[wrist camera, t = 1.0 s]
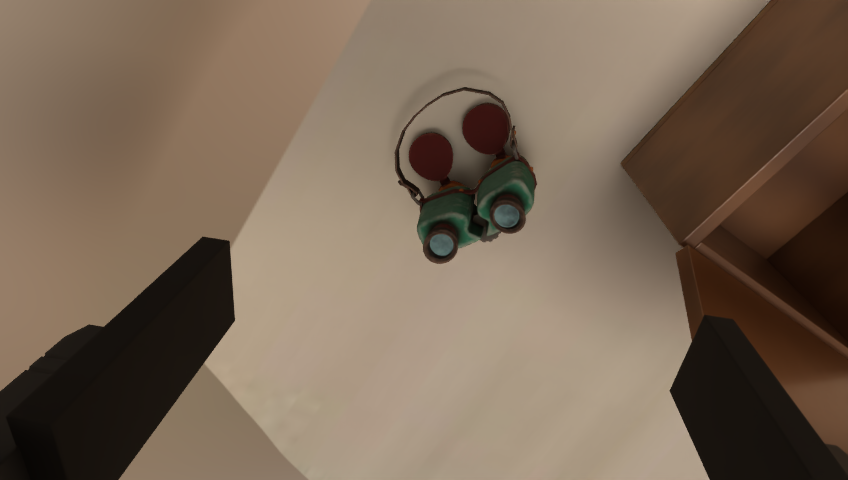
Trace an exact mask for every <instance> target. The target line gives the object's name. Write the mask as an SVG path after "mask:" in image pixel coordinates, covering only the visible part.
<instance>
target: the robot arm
mask: <svg viewBox="0 0 848 480" xmlns="http://www.w3.org/2000/svg"><path fill="white" fill-rule="evenodd" d="M234 321H235V315H234V300H233V286H232V271H231V256H230V242H229V241H227V240H220V239H214V238H208V237H202V238H201V239H200V240H199V241H198V242H196V244H194V245H193V246H192V247H191V248H190V249H189V250H188V251H187V252H186V253H184V254H183V255H182V256H181V257H180V258H179V259H178V260H177V261H176V262H175V263H174V264H172V265H171V266H170V267H169V268H168V269H167V270H166V271H165V272H164V273H162V274H161V275H160V276H159V277H158V278H157V279H156V280H155V281H154V282H153V283H152V284H150V285H149V286H148V287H147V288H146V289H145V290H144V291H143V292H142V293H141V294H140V295H138V296H137V297H136V298H135V299H134V300H133V301H132V302H131V303H130V304H129V305H127V306H126V307H125V308H124V309H123V310H122V311H121V312H120V313H119V314H118V315H116V317H114V318H113V319H112V320H111V321H110V322H109V323H108V324H107V325H105V326H104V327H101V326H95V325H87V326H86V327H84V328H81V329H80V330H77V331H75V332H74V333H72V334H69V335H67V336H65V337H64V338H63V339H61V341H59V342H58V343H57V344H56V345H54V346H53V347H52V348H51V349H50V350H49V351H47V352H46V353H45V356H44V357H40V358H39V359H38V360H37V361H35V362H34V363H33V364H32V365H31V366H30V368H29V370H25V371H24V372H23V373H21V374H20V375H19V376H18V377H17V378H15V379H14V380H13V381H12V382H11V383H10V384H9V385H7V386H6V387H5V388H4V389H3V390H1V391H0V480H118V479H119V478H120V477H121V475H122V474H123V473H124V471H125V470H126V469H127V467H128V466H129V464H130V463H131V462H132V460H133V459H134V458H135V456H136V455H137V454H138V452H139V451H140V450H141V448H142V447H143V445H144V444H145V443H146V441H147V440H148V439H149V437H150V436H151V434H152V433H153V432H154V430H155V429H156V428H157V426H158V425H159V424H160V422H161V421H162V419H163V418H164V417H165V415H166V414H167V413H168V411H169V410H170V409H171V407H172V406H173V404H174V403H175V402H176V400H177V399H178V397H179V396H180V395H181V394H182V392H183V391H184V389H185V388H186V387H187V385H188V384H189V383H190V381H191V380H192V378H193V377H194V376H195V374H196V373H197V372H198V370H199V369H200V368H201V366H202V365H203V363H204V362H205V361H206V359H207V358H208V357H209V355H210V354H211V353H212V351H213V350H214V348H215V347H216V346H217V344H218V343H219V342H220V340H221V339H222V338H223V336H224V335H225V333H226V332H227V331H228V329H229V328H230V327H231V325H232V324H233V322H234ZM670 393H671V395H672V397H673V399H674V401H675V404H676V406H677V408H678V410H679V413H680V415H681V417H682V419H683V421H684V424H685V426H686V428H687V430H688V432H689V435H690V437H691V439H692V441H693V443H694V446H695V448H696V450H697V452H698V455H699V457H700V459H701V461H702V463H703V466H704V468H705V470H706V472H707V474H708V477H709V479H710V480H848V454H847V453H846V452H844V451H843V450H842V449H841V448H840V447H838V446H837V445H831V444H825V443H824V442H823V441H822V439H821V438H820V436H819V435H818V434H817V432H816V431H815V430H814V428H813V427H812V426H811V424H810V423H809V422H808V420H807V419H806V417H805V416H804V415H803V413H802V412H801V411H800V409H799V408H798V407H797V405H796V404H795V402H794V401H793V400H792V398H791V397H790V396H789V394H788V393H787V392H786V390H785V389H784V388H783V386H782V385H781V383H780V382H779V381H778V379H777V378H776V377H775V375H774V374H773V373H772V371H771V370H770V368H769V367H768V366H767V364H766V363H765V362H764V360H763V359H762V358H761V356H760V355H759V354H758V352H757V351H756V349H755V348H754V347H753V345H752V344H751V343H750V341H749V340H748V339H747V337H746V336H745V334H744V333H743V332H742V330H741V329H740V328H739V326H738V325H737V324H736V322H735V321H734V320H733V319H730V318H723V317H717V316H710V315H704V316H703V319H702V321H701V323H700V325H699V327H698V330H697V332H696V334H695V336H694V338H693V341H692V343H691V345H690V347H689V349H688V352H687V354H686V356H685V358H684V360H683V363H682V365H681V367H680V369H679V371H678V374H677V376H676V378H675V380H674V382H673V385H672V387H671V389H670Z"/></svg>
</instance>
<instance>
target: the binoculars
mask: <svg viewBox="0 0 848 480" xmlns="http://www.w3.org/2000/svg"><path fill="white" fill-rule="evenodd" d="M463 90H465V91H470V92H475V93H481V94H486V95H489V96H491V97H492V98H494V99H495V100H497V101H498V102H500V103H501V104H502V105H503V108H504V110H505V111H504V110H503V109H502V108H501V107H499V106H498V105H495V104H491V103H484V104H481V105H478V106H476V107H475V108H473V109H472V110H471V111H470V112H469V113H468V114H467V115H466V117H465V119H464V122H463V128H462V129H463V135H464V138H465V139H466V141H467V143H468V144H469V145H470V146H471V147H472V148H474V149H475V150H477V151H478V152H480V153H483V154H488V155H492V154H495V155H496V158H495V159H494V161H493V162H492V164H491V167H490V170H488V171H487V172H486V173H485V174H484V175H483V176H482V178H481V179H480V180H479V181H478V183H479V184H478V185H477V187H476V188H475V189H470V188H468V187H466V186H464V185H463V184H461V183H459V182H456V181H450V180H449V178H448V176H447V175H448V174H449V173H450V170H451V168H452V163H453V151H452V147H451V145H450V143H449V141H448V140H447V139H446V138H445V137H443V136H442V135H440V134H437V133H426V134H423V135H421V136H420V137H418V138H417V139H416V140H415V141H414V142H413V144H412V145H411V147H410V151H409V161H410V164H411V166H412V168H413V169H414V170H415V171H416V172H417V173H418V174H419V175H420V176H422V177H423V178H425V179H428V180H431V181H440V183H441V185H442V186H441V187H440V189H439V192H436V193H434V194H431V195H430V196H428V197H427V198H424V196H423V194H422V193H421V191H420V189H419V188H418V187H416V186H415V185H414V184H412V183H411V182H409V181H408V180H406V179H405V177H404V175H403V173H402V171H401V169H400V163H399V148H400V145H401V142H402V139H403V137H404V134H405V131H406V129H407V128H408V126H409V125H410V124H411V122H412V121H413V120H414V118H415V117H416V116H417V115H418V114H419V113H420V112H421V111H423V110H424V109H425V108H426V107H427V106H429V105H430V104H432V103H433V102H435V101H436V100H438V99H440V98H441V97H443V96H446V95H449V94H453V93H456V92H460V91H463ZM510 130H511V137H510V146H511V148H512V149H513V153H514V155H513V156H508V155H506V154H505V151H504V149H503V147H504V145H505V144H506V142H507V140H508V137H509V133H510ZM515 134H516V131H515V126H513V130H512V124H511V118H510V114H509V112H508V110H507V108H506V106H505V104H504V102H503V100H501V99H500V98H498V97H497V96H495V95H494V94H492V93H491V92H489V91H483V90H478V89H472V88H467V87H464V88H460V89H457V90H453V91H450V92H446V93H443V94H442V95H440V96H439V97H437V98H435V99H434V100H432V101H431V102H429V103H428V104H427V105H425V106H424V107H423V108H422V109H421V110H420V111H419V112H418V113H416V114H415V115H414V116H413V118H412V119H411V120H410V122H409V123H408V124H407V125H406V127H405V128H404V129H403V131H402V133H401V136H400V138H399V141H398V144H397V147H396V150H395V170H396V173H397V175H398V177H399V179H400V180H399V181H398V183H399V184H400V185H402V186H404V187H405V188H407V189H408V191H409V193H410V195H411V197H412V199H413V200H414V201H415V202H416V203H417V204H418V205H420V217H419V221H418V225H417V232H418V235H419V238H420V240H421V242H422V244H423V251H424V254H425V256H426V257H427V259H429V260H430V261H431V262H433V263H437V264H442V263H446V262H449V261H450V260H451V259H453V258H454V256H455V255H456V253H457V250H458V248H462V247H464V246H467V245H470V244H472V243H474V242H476V241H478V240H481V241H482V242H486V241H489V242H490V241H492V240H493V239H496V238H497V237H498V235H499V233H500V234H501V232H503V233H510V234H511V233H516V232H518V231H520V230H521V229H522V228H523V227H524V224H525V221H526V217H525V215H526V214H527V213H528V212H529V211H530V210H531V208H532V206H533V203H534V190H535V188H536V185H537V182H536V178H535V174H534V173H533V168H532V167H530V165H529V164H528V162H527V161H526V159H525V158H524V157H522V156H520V155H519V153H518V150H517V141H516V138H515ZM512 138H513V140H512ZM477 190H478V195H477V206H476V205H475V204H474V200H475V193H476V192H477ZM418 194H419V195H420V197H421V198H420V200H419V201H418V200H417V199H416V198H415V197H416V196H417V195H418ZM423 203H424V204H423Z"/></svg>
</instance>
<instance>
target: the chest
mask: <svg viewBox="0 0 848 480" xmlns="http://www.w3.org/2000/svg"><path fill="white" fill-rule="evenodd" d="M621 165H622V167H623V168H624V169H625V171H626V172H627V173H628V175H629V176H630V178H631V179H632V180H633V182H634V183H635V184H636V186H637V187H638V189H639V190H640V191H641V193H642V194H643V195H644V197H645V198H646V200H647V201H648V202H649V204H650V205H651V207H652V208H653V209H654V211H655V212H656V213H657V215H658V216H659V218H660V219H661V220H662V222H663V223H664V224H665V226H666V227H667V229H668V230H669V231H670V233H671V234H672V236H673V237H674V238H675V240H676V241H677V242H678V244H679V245H680V246H682V247H683V248H684V247H685V246H687V245H689V246H690V247H692V248H693V249H695V250H696V251H697V252H699V253H700V254H701V255H703V256H704V257H706V258H707V259H708V260H710V261H711V262H713V263H714V264H715V265H717V266H718V267H720V268H721V269H722V270H724V271H725V272H726V273H728V274H729V275H731V276H732V277H733V278H735V279H736V280H738V281H739V282H740V283H742V284H743V285H744V286H746V287H747V288H749V289H750V290H751V291H753V292H754V293H756V294H757V295H758V296H760V297H761V298H763V299H764V300H765V301H767V302H768V303H769V304H771V305H772V306H774V307H775V308H776V309H778V310H779V311H781V312H782V313H783V314H785V315H786V316H787V317H789V318H790V319H792V320H793V321H794V322H796V323H797V324H799V325H800V326H801V327H803V328H804V329H806V330H807V331H808V332H810V333H811V334H812V335H814V336H815V337H817V338H818V339H819V340H821V341H822V342H824V343H825V344H826V345H828V346H829V347H830V348H832V349H833V350H835V351H836V352H837V353H839V354H840V355H842V356H843V357H844V358H846V359H847V360H848V0H771V1H770V2H769V3H768V4H767V6H766V7H765V8H764V9H763V10H762V11H761V12H760V13H759V14H758V15H757V16H756V17H755V19H754V20H753V21H752V22H751V23H750V24H749V25H748V26H747V27H746V28H745V29H744V30H743V31H742V33H741V34H740V35H739V36H738V37H737V38H736V39H735V40H734V41H733V42H732V43H731V44H730V46H729V47H728V48H727V49H726V50H725V51H724V52H723V53H722V54H721V55H720V56H719V57H718V59H717V60H716V61H715V62H714V63H713V64H712V65H711V66H710V67H709V68H708V69H707V70H706V71H705V73H704V74H703V75H702V76H701V77H700V78H699V79H698V80H697V81H696V82H695V83H694V84H693V86H692V87H691V88H690V89H689V90H688V91H687V92H686V93H685V94H684V95H683V96H682V97H681V98H680V100H679V101H678V102H677V103H676V104H675V105H674V106H673V107H672V108H671V109H670V110H669V111H668V113H667V114H666V115H665V116H664V117H663V118H662V119H661V120H660V121H659V122H658V123H657V124H656V126H655V127H654V128H653V129H652V130H651V131H650V132H649V133H648V134H647V135H646V136H645V137H644V138H643V140H642V141H641V142H640V143H639V144H638V145H637V146H636V147H635V148H634V149H633V150H632V151H631V153H630V154H629V155H628V156H627V157H626V158H625V159H624V160H623V161H622V162H621Z"/></svg>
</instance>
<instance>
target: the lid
mask: <svg viewBox="0 0 848 480" xmlns="http://www.w3.org/2000/svg"><path fill="white" fill-rule="evenodd" d="M676 259H677V264H678V269H679V275H680V280H681V285H682V291H683V296H684V301H685V307H686V312H687V317H688V323H689V328H690V333H691V339H692V341H693V338H694V336H695V334H696V332H697V330H698V327H699V325H700V323H701V321H702V319H703V316H704V315H710V316H717V317H723V318H730V319H733V320H734V321H735V322H736V324H737V325H738V326H739V328H740V329H741V330H742V332H743V333H744V334H745V336H746V337H747V339H748V340H749V341H750V343H751V344H752V345H753V347H754V348H755V349H756V351H757V352H758V354H759V355H760V356H761V358H762V359H763V360H764V362H765V363H766V364H767V366H768V367H769V368H770V370H771V371H772V373H773V374H774V375H775V377H776V378H777V379H778V381H779V382H780V383H781V385H782V386H783V388H784V389H785V390H786V392H787V393H788V394H789V396H790V397H791V398H792V400H793V401H794V402H795V404H796V405H797V407H798V408H799V409H800V411H801V412H802V413H803V415H804V416H805V417H806V419H807V420H808V422H809V423H810V424H811V426H812V427H813V428H814V430H815V431H816V432H817V434H818V435H819V436H820V438H821V439H822V441H823V442H824V443H825V444H831V445H837V446H838V447H840V448H841V449H842V450H843V451H844V452H846V453H847V454H848V360H847V359H846V358H844V357H843V356H842V355H840V354H839V353H837V352H836V351H835V350H833V349H832V348H830V347H829V346H828V345H826V344H825V343H824V342H822V341H821V340H819V339H818V338H817V337H815V336H814V335H812V334H811V333H810V332H808V331H807V330H806V329H804V328H803V327H801V326H800V325H799V324H797V323H796V322H794V321H793V320H792V319H790V318H789V317H787V316H786V315H785V314H783V313H782V312H781V311H779V310H778V309H776V308H775V307H774V306H772V305H771V304H769V303H768V302H767V301H765V300H764V299H763V298H761V297H760V296H758V295H757V294H756V293H754V292H753V291H751V290H750V289H749V288H747V287H746V286H744V285H743V284H742V283H740V282H739V281H738V280H736V279H735V278H733V277H732V276H731V275H729V274H728V273H726V272H725V271H724V270H722V269H721V268H720V267H718V266H717V265H715V264H714V263H713V262H711V261H710V260H708V259H707V258H706V257H704V256H703V255H701V254H700V253H699V252H697V251H696V250H695V249H693V248H692V247H690V246H689V245H687V246H685V247H684V248H682V249H681V250H679V251H678V252H676Z"/></svg>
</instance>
